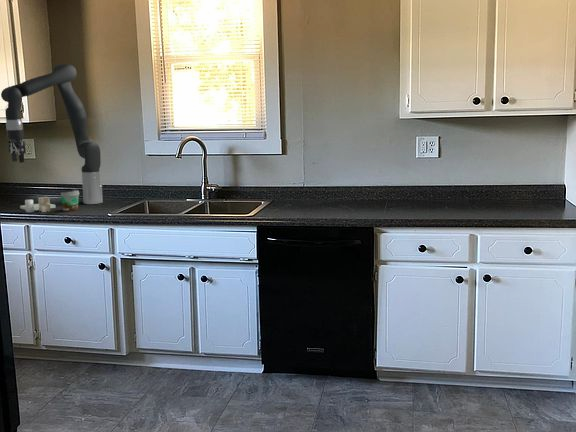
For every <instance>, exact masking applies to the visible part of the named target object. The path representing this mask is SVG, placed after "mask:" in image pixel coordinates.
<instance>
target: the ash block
mask: <svg viewBox="0 0 576 432" xmlns="http://www.w3.org/2000/svg"><path fill="white" fill-rule="evenodd" d="M37 201H38V204H39V210H38V211H39V212H40V211H41V212H40V213H46V212H47V211H48V212H51V208H50V204H51V201H50V197H49V196H41V197H38V199H37Z"/></svg>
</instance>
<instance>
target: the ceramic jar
mask: <svg viewBox="0 0 576 432" xmlns="http://www.w3.org/2000/svg"><path fill="white" fill-rule="evenodd" d="M34 204H35V203H34V199H24V205H25V210H24V211H25V213H34V212H35V210H34Z"/></svg>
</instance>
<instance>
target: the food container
mask: <svg viewBox="0 0 576 432" xmlns="http://www.w3.org/2000/svg"><path fill="white" fill-rule="evenodd" d="M79 195H80V191H79V190H78V189H72V190H71V191H66V192H60V197H61V204H62V211H63V213H69V212H70V211H72V212H77V211H79Z"/></svg>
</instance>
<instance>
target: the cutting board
mask: <svg viewBox="0 0 576 432" xmlns="http://www.w3.org/2000/svg"><path fill="white" fill-rule="evenodd" d="M19 208H20V210H24V211H26V210H25V204H24V205H19ZM56 208H57V207H56V204H54V203H53V204H52V203H50V209H56ZM34 211H39V203H34Z"/></svg>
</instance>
